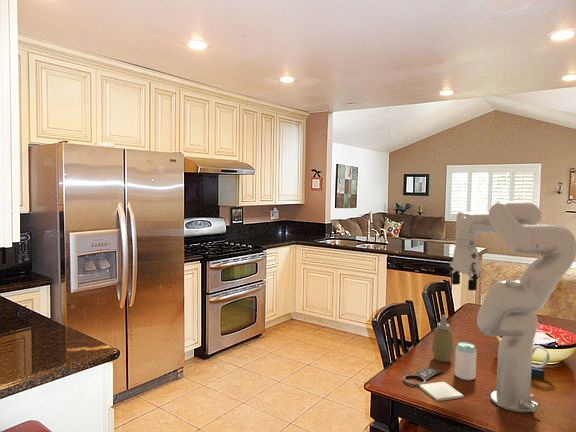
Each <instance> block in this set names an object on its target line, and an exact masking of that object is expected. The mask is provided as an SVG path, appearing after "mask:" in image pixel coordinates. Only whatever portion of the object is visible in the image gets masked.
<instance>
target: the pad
mask: <svg viewBox="0 0 576 432" xmlns="http://www.w3.org/2000/svg"><path fill="white" fill-rule="evenodd" d="M418 388H420V389H421V390H422V391H423V392H425V393H426V394H427V395H428V396H430V397H431V398H432V399H433V400H435V402H436V401H437V402H438V401H439V402H441V401H446V400H447V401H448V400H454V399H461V398H464V394H462V392H460V391H458V390H456V388H454V387H452V386H451V385H449V384H448V383H447V382H445V381H439V382H431V383H426V384H422V385H419V387H418Z"/></svg>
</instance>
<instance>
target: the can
mask: <svg viewBox="0 0 576 432" xmlns="http://www.w3.org/2000/svg"><path fill="white" fill-rule="evenodd" d="M477 353H478V351H477V349H476V346H475V345H474V344H473V343H470V342H464V341H462V342H461V341H460V342H458V343H457V345H456V346H455V357H454V358H455V359H454V376H455V377H457V378H458V379H460V380H463V381H472V380H474V379H476V374H477Z"/></svg>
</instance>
